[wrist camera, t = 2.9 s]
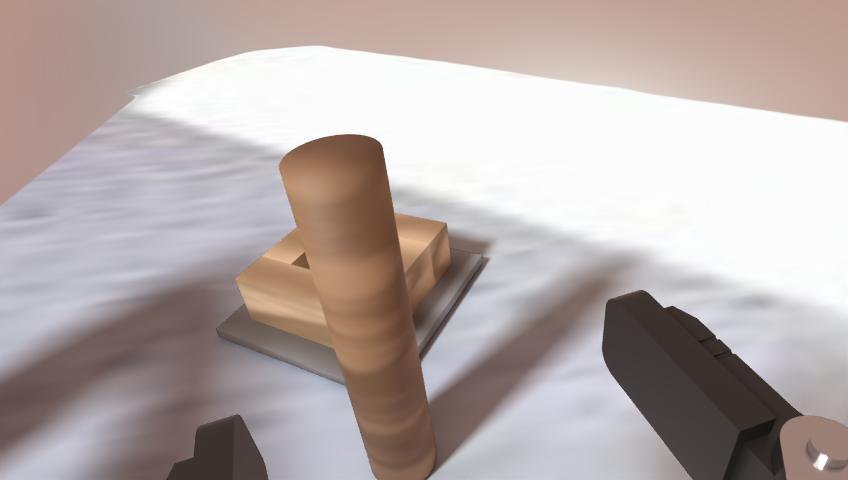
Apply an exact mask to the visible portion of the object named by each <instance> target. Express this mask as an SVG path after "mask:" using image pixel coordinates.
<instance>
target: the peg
mask: <svg viewBox="0 0 848 480" xmlns="http://www.w3.org/2000/svg"><path fill="white" fill-rule="evenodd" d="M279 170H280V173H281V176H282V180H283V183H284V186H285V189H286V193H287V196H288V199H289V202H290V206H291V209H292V212H293V215H294V219H295V222H296V225H297V228H298V232H299V235H300V238H301V241H302V245H303V248H304V251H305V254H306V258H307V261H308V264H309V267H310V271H311V274H312V277H313V280H314V284H315V287H316V290H317V293H318V297H319V300H320V303H321V306H322V310H323V313H324V316H325V319H326V323H327V326H328V329H329V332H330V336H331V339H332V342H333V345H334V349H335V352H336V355H337V358H338V362H339V365H340V368H341V371H342V375H343V378H344V381H345V384H346V388H347V391H348V394H349V397H350V401H351V404H352V407H353V410H354V414H355V417H356V420H357V423H358V427H359V430H360V433H361V436H362V440H363V443H364V446H365V449H366V453H367V456H368V459H369V462H370V466H371V469H372V472H373V474H374V475H375V477H376V478H377V479H378V480H424V479H425V478H427V477H428V475H429V474H430V473H431V471H432V470H433V468H434V465H435V462H436V447H435V442H434V436H433V430H432V425H431V419H430V413H429V408H428V402H427V396H426V391H425V385H424V379H423V374H422V368H421V362H420V357H419V351H418V345H417V340H416V334H415V328H414V323H413V317H412V311H411V306H410V300H409V294H408V289H407V283H406V277H405V272H404V266H403V260H402V255H401V249H400V243H399V238H398V232H397V226H396V221H395V215H394V209H393V204H392V198H391V192H390V187H389V181H388V175H387V170H386V164H385V158H384V153H383V147H382V145H381V144H380V142H379V141H377V140H376V139H374V138H371V137H368V136H364V135H355V134H344V135H334V136H328V137H324V138H320V139H316V140H313V141H310V142H307V143H305V144H303V145H300V146H298V147H297V148H295V149H293V150H292V151H290V152H289V153H288V154H286V155H285V156H284V157H283V159H282V160H281V162H280V165H279Z"/></svg>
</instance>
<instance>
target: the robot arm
mask: <svg viewBox="0 0 848 480" xmlns="http://www.w3.org/2000/svg"><path fill="white" fill-rule="evenodd" d="M602 352H603V357H604V360H605V363H606V365H607V367H608V369H609V371H610V373H611V374H612V376H613V377H614V378H615V379H616V381H617V382H618V383H619V385H620V386H621V387H622V389H623V390H624V391H625V392H626V394H627V395H628V396H629V398H630V399H631V400H632V401H633V403H634V404H635V405H636V407H637V408H638V409H639V411H640V412H641V413H642V414H643V416H644V417H645V418H646V420H647V421H648V422H649V423H650V425H651V426H652V427H653V429H654V430H655V431H656V432H657V434H658V435H659V436H660V438H661V439H662V440H663V442H664V443H665V444H666V445H667V447H668V448H669V449H670V451H671V452H672V453H673V454H674V456H675V457H676V458H677V460H678V461H679V462H680V464H681V465H682V466H683V467H684V469H685V470H686V471H687V473H688V474H689V475H690V476H691V478H692V479H693V480H848V427H846V426H844V425H842V424H840V423H838V422H835V421H833V420H830V419H826V418H823V417H817V416H804V415H802V414H801V413H800V412H798V411H797V410H796V409H795V408H793V407H792V406H791V405H790V404H789V403H788V402H787V401H786V400H785V399H784V398H782V397H781V396H780V395H779V394H778V393H777V392H776V391H775V390H774V389H773V388H772V387H771V386H769V385H768V384H767V383H766V382H765V381H764V380H763V379H762V378H761V377H760V376H759V375H758V374H757V373H755V372H754V371H753V370H752V369H751V368H750V367H749V366H748V365H747V364H746V363H745V362H744V361H742V360H741V359H740V358H739V357H738V356H737V355H736V354H732V352H731V349H729V348H728V347H727V346H726V345H725V344H724V343H723V342H722V341H721V340H720V339H718V340H717V339H716V336H715V335H714V334H713V333H712V332H711V331H710V330H709V329H708V328H707V327H706V326H705V325H704V324H702V323H701V322H700V321H699V320H698V319H697V318H695V317H693V316H691V315H689V314H687V313H685V312H683V311H681V310H679V309H678V308H676V307H674V306H670V307H667V308H663V307H662V306H661V305H660V304H659V303H658V302H657V301H656V300H655V299H654V298H653V297H652V296H651V295H650V294H649V293H647V292H646V291H643V290H639V291H635V292H632V293H629V294H625V295H622V296H619V297H616V298H612V299H610V300H608V302H607V304H606V311H605V321H604V332H603V342H602ZM167 480H268V475H267V471H266V467H265V463H264V461H263V458H262V456H261V454H260V452H259V450H258V448H257V446H256V444H255V442H254V440H253V438H252V437H251V435H250V433H249V431H248V429H247V427H246V425H245V423H244V421H243V419H242V417H241V416H240V415H238V414H237V415H234V416H231V417H227V418H224V419H221V420H217V421H214V422H211V423H208V424H204V425H201V426H199V427H198V429H197V431H196V437H195V448H194V458H191V459H188V460H184V461H181V462H178V463H175V464H174V466H173V468H172V470H171V472H170V474H169V476H168V478H167Z"/></svg>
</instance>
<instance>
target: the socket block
mask: <svg viewBox="0 0 848 480" xmlns="http://www.w3.org/2000/svg"><path fill="white" fill-rule="evenodd" d="M394 215H395V221H396V226H397V232H398V238H399V243H400V249H401V255H402V260H403V266H404V272H405V277H406V283H407V289H408V294H409V300H410V306H411V311H412V317H413V323H414V328H415V334H416V340H417V345H418V351H419V355H420V353H421V352H422V350H423V349H424V347H425V346H426V344H427V343H428V341H429V340H430V339H431V337H432V336H433V334H434V333H435V331H436V330H437V328H438V327H439V325H440V324H441V322H442V321H443V319H444V318H445V316H446V315H447V314H448V312H449V311H450V309H451V308H452V306H453V305H454V303H455V302H456V300H457V299H458V297H459V296H460V294H461V293H462V292H463V290H464V289H465V287H466V286H467V284H468V283H469V281H470V280H471V278H472V277H473V275H474V274H475V272H476V271H477V270H478V268H479V267H480V265H481V264H482V255H479V254H475V253H470V252H466V251H461V250H457V249H452V248H449V240H448V231H447V223H444V222H439V221H434V220H429V219H424V218H419V217H414V216H409V215H403V214H398V213H394ZM235 280H236V283H237V285H238V288H239V290H240V292H241V295H242V297H243V300H244V302H245V304H243V305H242V306H241V307H240V308H239V309H238V310H237V311H236V312H235V313H233V314H232V315H231V316H230V317H229V318H228V319H227V320H226V321H225V322H223V323H222V324H221V325H220V326H219V327H218V328H217V329H216V331H217V333H218V335H219V337H222V338H225V339H227V340H230V341H232V342H235V343H237V344H240V345H243V346H245V347H248V348H250V349H253V350H255V351H258V352H260V353H263V354H266V355H268V356H271V357H273V358H276V359H278V360H281V361H284V362H286V363H289V364H291V365H294V366H296V367H299V368H301V369H304V370H307V371H309V372H312V373H314V374H317V375H319V376H322V377H325V378H327V379H330V380H332V381H335V382H337V383H340V384H342V385H345V386H346V384H345V381H344V378H343V375H342V371H341V368H340V365H339V362H338V358H337V355H336V352H335V349H334V345H333V342H332V339H331V336H330V332H329V329H328V326H327V323H326V319H325V316H324V313H323V310H322V306H321V303H320V300H319V297H318V293H317V290H316V287H315V284H314V280H313V277H312V274H311V271H310V267H309V264H308V261H307V258H306V254H305V251H304V248H303V245H302V241H301V238H300V235H299V232H298V228H297V227H296V228H295V229H294V230H293V231H292V232H290V233H289V234H288V235H287V236H286V237H285V238H283V239H282V240H281V241H280V242H279V243H277V244H276V245H275V246H274V247H273V248H271V249H270V250H269V251H268V252H267V253H265V254H264V255H263V256H262V257H261V258H259V259H258V260H257V261H256V262H255V263H253V264H252V265H251V266H250V267H249V268H248V269H246V270H245V271H244V272H243V273H242V274H240V275H239V276H238V277H237V278H236V279H235Z"/></svg>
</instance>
